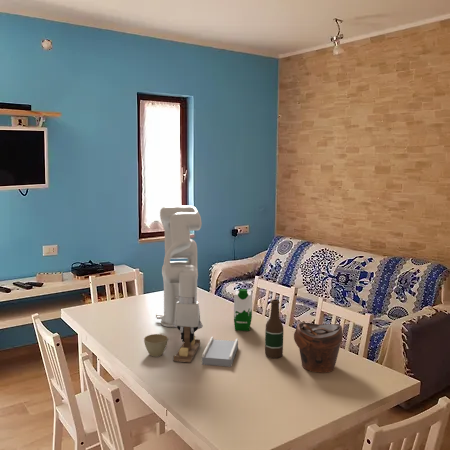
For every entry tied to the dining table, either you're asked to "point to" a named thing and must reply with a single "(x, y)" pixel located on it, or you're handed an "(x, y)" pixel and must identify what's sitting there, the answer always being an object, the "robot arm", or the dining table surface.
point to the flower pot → (155, 344)
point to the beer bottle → (274, 333)
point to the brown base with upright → (187, 344)
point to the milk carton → (242, 310)
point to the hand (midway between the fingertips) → (187, 340)
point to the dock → (220, 352)
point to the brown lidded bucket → (318, 345)
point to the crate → (183, 352)
